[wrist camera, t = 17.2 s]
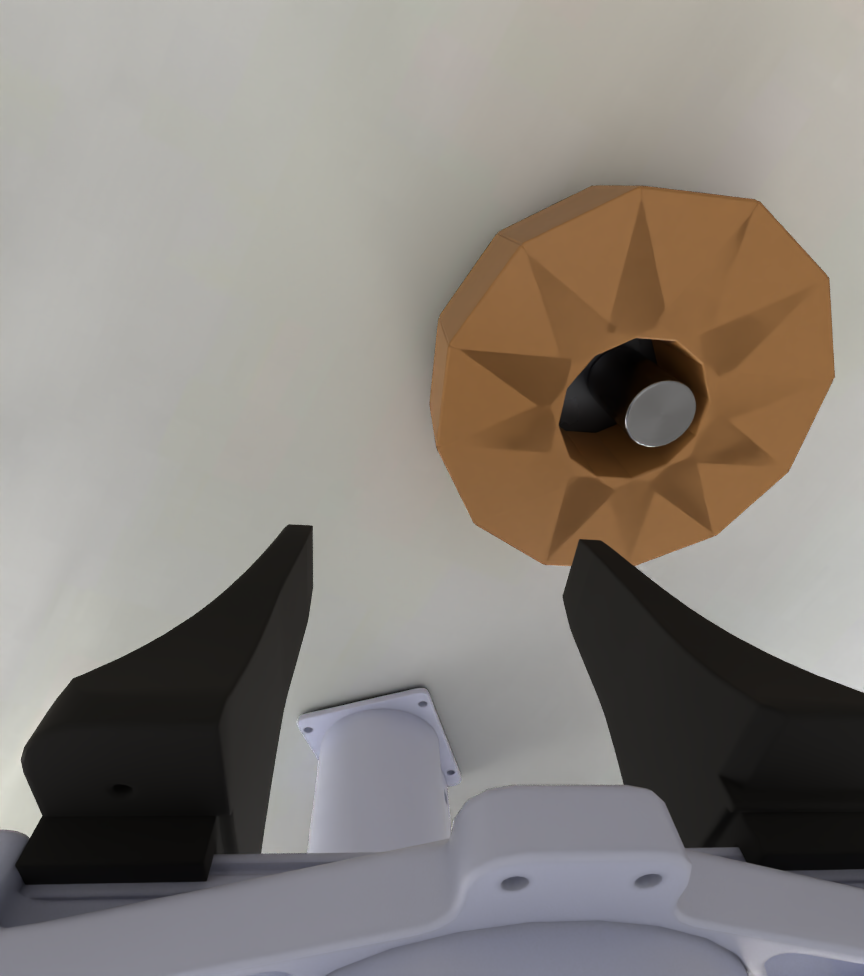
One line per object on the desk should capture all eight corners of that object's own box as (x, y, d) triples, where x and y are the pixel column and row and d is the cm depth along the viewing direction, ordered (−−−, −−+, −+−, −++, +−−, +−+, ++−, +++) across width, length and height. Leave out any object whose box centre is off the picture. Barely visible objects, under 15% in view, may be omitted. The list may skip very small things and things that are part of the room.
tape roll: (816, 212, 19) (913, 218, 15) (691, 519, 25) (740, 573, 21) (453, 168, 17) (468, 164, 14) (418, 504, 23) (422, 560, 20)
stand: (713, 436, 24) (787, 494, 20) (519, 485, 25) (547, 552, 20) (717, 221, 20) (813, 232, 15) (479, 287, 20) (504, 317, 16)
